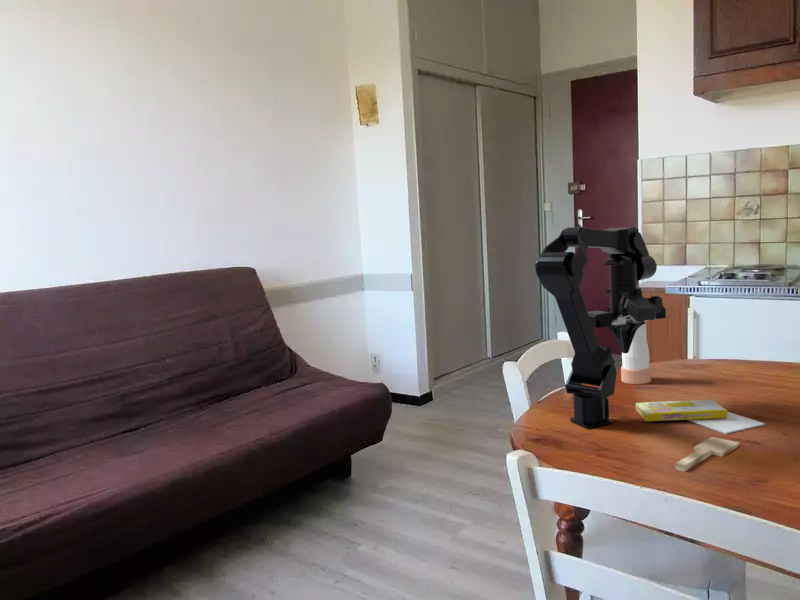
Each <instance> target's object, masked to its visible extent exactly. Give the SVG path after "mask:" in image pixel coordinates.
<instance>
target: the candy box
mask: <svg viewBox="0 0 800 600" xmlns="http://www.w3.org/2000/svg"><path fill="white" fill-rule="evenodd" d="M635 410H636V412H638V414H639V415H640V416H641V418H642V419H643V420H644V421H645V422H664V421H685V420H686V421H688V420H691V419H710V418H727V412H728V409H726V408H724V407H723V406H722V405H720V404H719V403H718V402H716V401H715V400H714V399H712V398H708V399H688V400H665V401H646V402H645V401H644V402H643V401H642V402H636V403H635Z"/></svg>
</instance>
